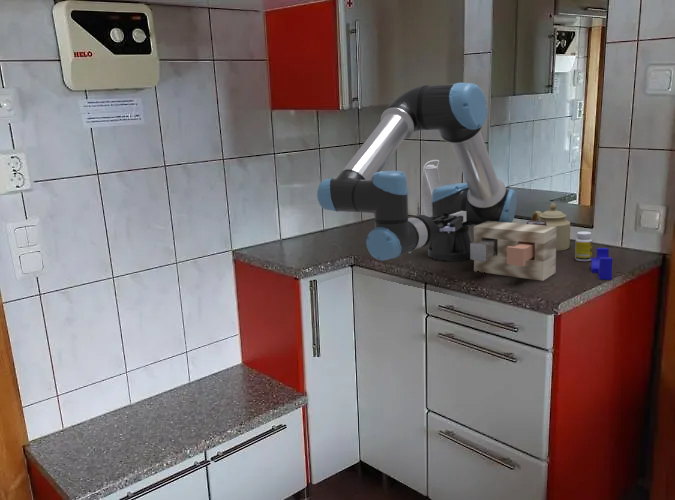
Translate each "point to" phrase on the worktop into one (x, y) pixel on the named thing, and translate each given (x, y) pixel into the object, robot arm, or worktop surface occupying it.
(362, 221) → the worktop surface
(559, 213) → the sugar bowl
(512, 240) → the housing
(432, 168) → the skyscraper
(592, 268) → the blue curved cradle
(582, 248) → the supplement bottle
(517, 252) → the terracotta plug
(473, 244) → the grey plug
